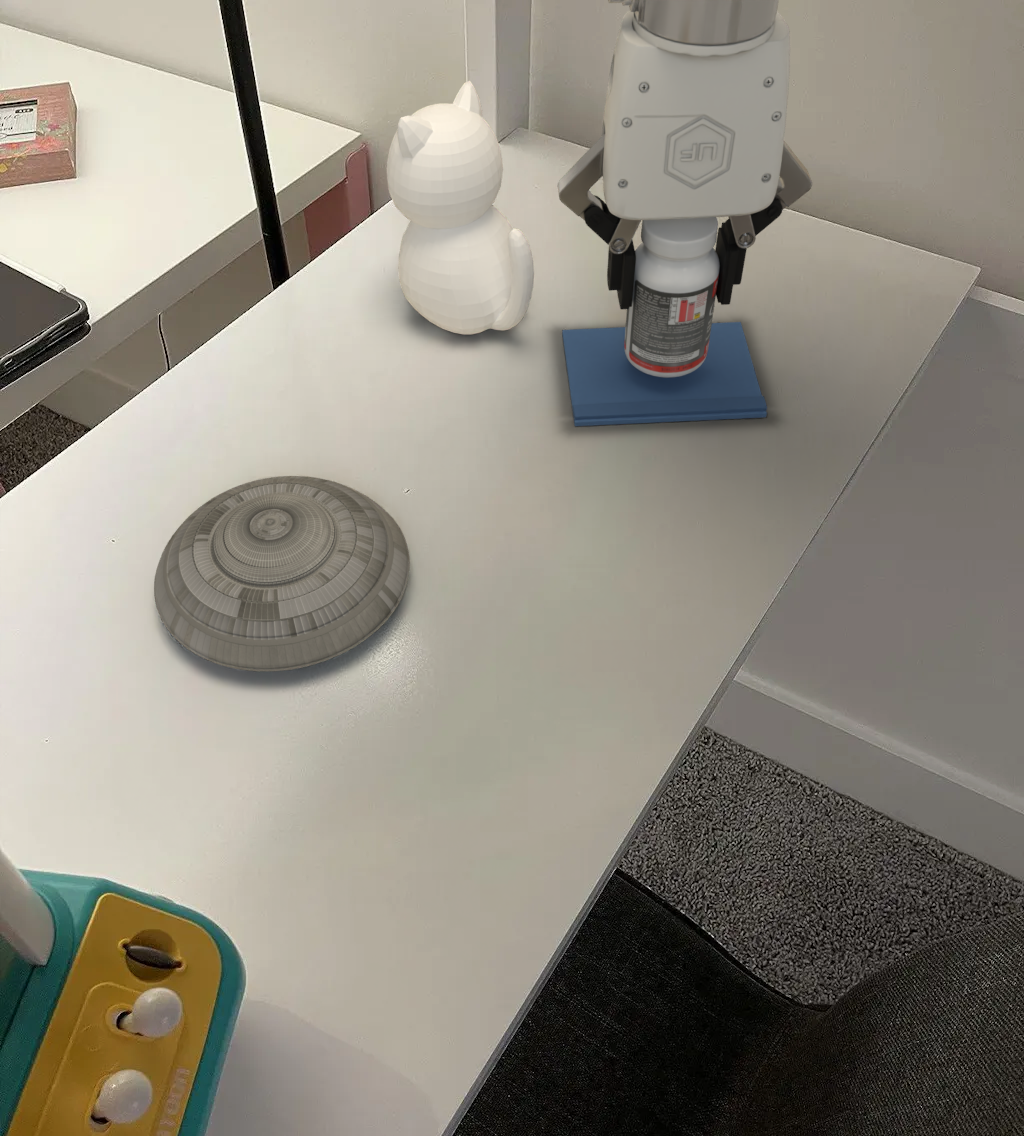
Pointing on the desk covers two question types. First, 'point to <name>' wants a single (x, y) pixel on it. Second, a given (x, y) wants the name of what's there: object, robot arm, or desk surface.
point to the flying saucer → (281, 574)
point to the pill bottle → (672, 296)
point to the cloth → (659, 381)
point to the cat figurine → (457, 220)
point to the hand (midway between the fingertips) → (672, 292)
